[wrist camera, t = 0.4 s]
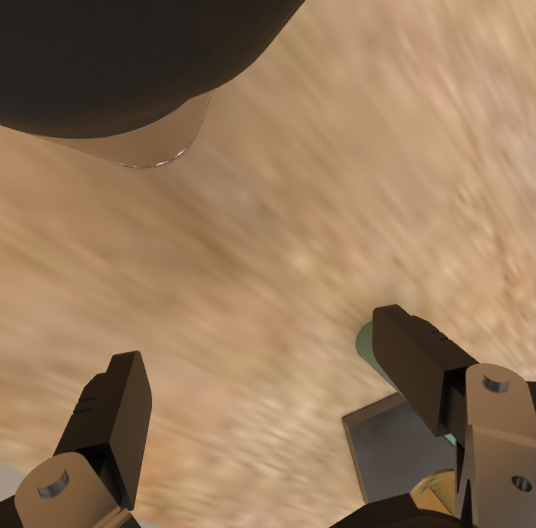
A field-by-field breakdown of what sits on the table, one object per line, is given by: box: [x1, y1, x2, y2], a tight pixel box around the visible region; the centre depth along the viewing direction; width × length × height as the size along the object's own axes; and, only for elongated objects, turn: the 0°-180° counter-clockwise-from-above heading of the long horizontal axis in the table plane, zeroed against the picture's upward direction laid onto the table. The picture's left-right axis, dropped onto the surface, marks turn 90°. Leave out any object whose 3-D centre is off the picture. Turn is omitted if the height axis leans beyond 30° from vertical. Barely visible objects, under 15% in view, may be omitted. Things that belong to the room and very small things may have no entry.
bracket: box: [342, 392, 455, 516], centre depth 32 cm, size 12×13×12 cm
